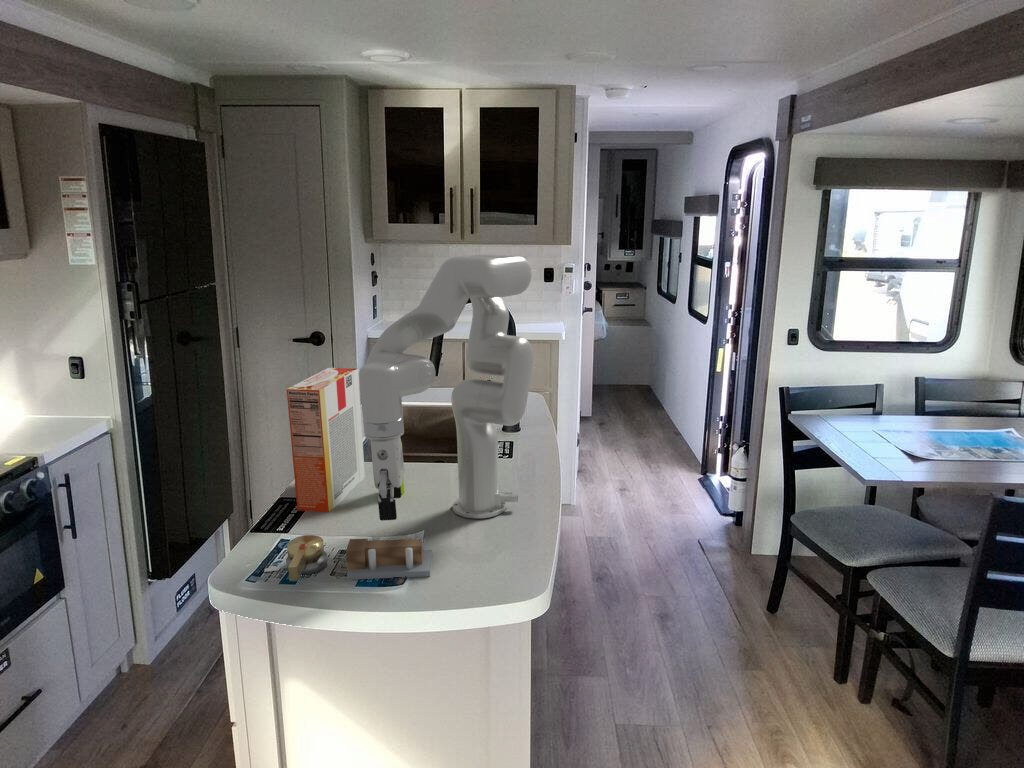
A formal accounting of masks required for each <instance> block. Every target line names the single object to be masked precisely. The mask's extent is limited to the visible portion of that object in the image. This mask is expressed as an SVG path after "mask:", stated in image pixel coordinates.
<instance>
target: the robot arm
mask: <svg viewBox="0 0 1024 768" xmlns="http://www.w3.org/2000/svg"><path fill="white" fill-rule="evenodd" d="M529 263H530V262H529V261H528V260H527V259H526V258H525V257H523V256H520V255H503V254H501V255H500V254H473V255H469V256H453V257H450V258H447V259H446V260H445V261H443V263H442V264H441V265H440V267H439V269H438V271H437V272H436V274H435V276H434V278H433V279H432V281H431V283H430V285H429V286H428V288H427V290H426V292H425V294H424V295H423V297H422V299H421V300H420V302H419V304H418V306H416V308H414V309H413V310H411V311H409V312H408V313H406V314H404V315H403V316H401V317H400V318H399V319H397V320H396V321H394V322H393V323H392V324H391V325H389V326H388V327H386V329H385V330H384V331H383V332H382V333H381V334H380V336H379V337H378V339H377V341H376V342H375V343H374V345H373V347H372V349H371V351H370V352H369V354H368V357H367V360H366V363H365V364H364V365H362V366H361V367H360V369H359V370H358V377H359V393H360V403H361V414H362V422H363V431H364V432H363V433H364V438H366V439H367V440H370V448H371V450H370V451H371V462H372V473H373V474H372V475H373V480H374V481H373V482H374V486H375V487H374V488H376V489H377V490H378V492H377V493H378V497H377V499H378V500H377V502H378V503H377V505H378V514H379V516H378V517H379V520H380V521H381V522H382V521H396V520H397V518H398V516H397V505H396V499H400V498H402V495H401V484H402V480H403V476H404V475H405V463H404V455H403V454H404V453H403V444H402V445H401V443H402V439H401V438H402V437H401V436H403V435H404V434H405V426H404V425H405V424H404V415H403V414H404V413H403V403H402V402H403V401H402V399H403V397H406V396H412V395H417V394H421V393H423V392H425V391H427V390H428V389H429V388H431V386H432V385H433V383H434V381H435V379H436V376H437V375H436V368H435V365H434V363H433V362H432V361H431V360H430V359H429V358H428V357H425V356H422V355H418V354H410V353H405V352H406V351H407V350H408V349H410V348H411V347H413V346H415V345H416V344H419V343H420V342H421V343H422V342H424V341H427V340H429V339H433V338H436V337H439V336H441V335H444V334H446V333H448V332H450V331H451V330H453V329H454V327H455V326H456V324H457V322H458V320H459V319H460V317H461V314H462V313H463V310H464V309H465V307H466V305H467V303H468V301H469V300H470V302H471V306H472V319H471V325H470V330H469V331H470V332H469V336H468V341H467V346H466V347H467V348H466V353H465V354H466V355H465V364H466V366H467V368H468V369H469V370H470V371H472V373H473V372H474V373H476V374H481V375H488V376H497V377H502V379H503V381H502V382H500V381H493V380H487V379H481V378H480V379H478V378H467V379H464V380H461V381H459V382H458V383H456V384H455V386H454V387H453V389H452V392H451V397H450V399H451V401H450V403H451V409H452V412H453V416H454V421H455V428H456V441H457V442H456V444H457V445H456V446H457V447H456V448H457V474H458V475H457V477H458V481H457V482H458V498H457V499H456V500H454V502H453V503H452V510H453V513H454V514H456V515H457V516H460V517H462V518H467V519H475V520H476V519H488V518H492V517H496V516H498V515H500V514H502V513H503V512H505V510H506V503H519V494H518V493H513V491H512V490H511V491H509V490H507V491H503V490H501V486H500V485H499V484H500V483H499V482H500V481H499V479H500V477H499V439H498V438H499V437H498V432H497V431H496V429H495V426H494V424H495V425H500V426H508V427H512V426H515V425H518V424H519V423H520V422H521V421H522V419H523V417H524V415H525V412H526V407H527V403H528V397H529V392H530V385H531V381H532V376H533V375H532V374H533V368H534V351H533V347H532V345H531V343H530V342H529V341H528V339H526V338H524V337H523V336H517V335H509V334H508V328H509V321H510V312H509V309H508V306H507V304H506V301H505V300H504V298H507V297H511V296H518V295H520V294H522V293H524V292H526V290H527V289H528V287H529V286H530V285H531V281H532V273H533V271H532V267H531V265H530V264H529ZM404 477H405V476H404Z"/></svg>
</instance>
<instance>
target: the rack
mask: <svg viewBox="0 0 1024 768" xmlns="http://www.w3.org/2000/svg"><path fill="white" fill-rule="evenodd" d="M407 539H416V537H415V534H408V535H407ZM372 540H380V536H379V535H374V536H372V537H371V541H372ZM405 554H406V565H391V566H376V551H375V549H369V550H368V556H369V566H366V569H351V570H347V573H346V580H348V581H349V580H373V579H376V580H377V579H394V578H393V577H402V576H403V577H402V578H421V577H424V578H425V577H426V578H427V577H431V573H432V571H431V569H432V564H433V563H432V561H433V549H423V561H422V564H416V565H413V550H412V548H410V547H408V548H406V549H405ZM405 576H406V577H405Z"/></svg>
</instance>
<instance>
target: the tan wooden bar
mask: <svg viewBox="0 0 1024 768" xmlns="http://www.w3.org/2000/svg"><path fill="white" fill-rule="evenodd" d="M408 547H410V548H412V550H413V565H416V564H422V561H423V550H424V549H423V548H424V547H423V538H415V539H408V538H404V539H381V540H380V539H379V540H372V539H371V540H369V538H368V537H367V538H350V539H349V540H348V543H347V546H346V548H345V560H346V570H347V571H348V570H351V569H366V566H369V556H368V550H369V549H375V551H376V566H391V565H406V554H405V549H406V548H408Z"/></svg>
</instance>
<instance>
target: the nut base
mask: <svg viewBox="0 0 1024 768" xmlns="http://www.w3.org/2000/svg"><path fill="white" fill-rule="evenodd" d="M290 563H291V560H290V559H289V558H288V556H287V557H286V559H285V567H286V572H287V571H288V567H289V565H290ZM328 564H329V563H328V555H327V552H326V550H324V554H323V555H322V556H321V557H319V558H318V559H315V560H312V561H308V562H307V563H306V565H305V567H304V569H303V571H302V574H301V575H302V576H301V577H306V576H305V575H310V576H313V575H312V574H314V575H317V574H319V573H322V572H323V571H324V570H326V568H327V567H328V566H329V565H328ZM278 568H279V566H276V567H275V566H274V567H266V568H264V570H263V573H264V572H270V571H271V572H270V573H273V572H272V571H278V572H279V569H278ZM288 572H289V571H288ZM288 572H287V573H288ZM316 573H317V574H316ZM303 575H304V576H303Z"/></svg>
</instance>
